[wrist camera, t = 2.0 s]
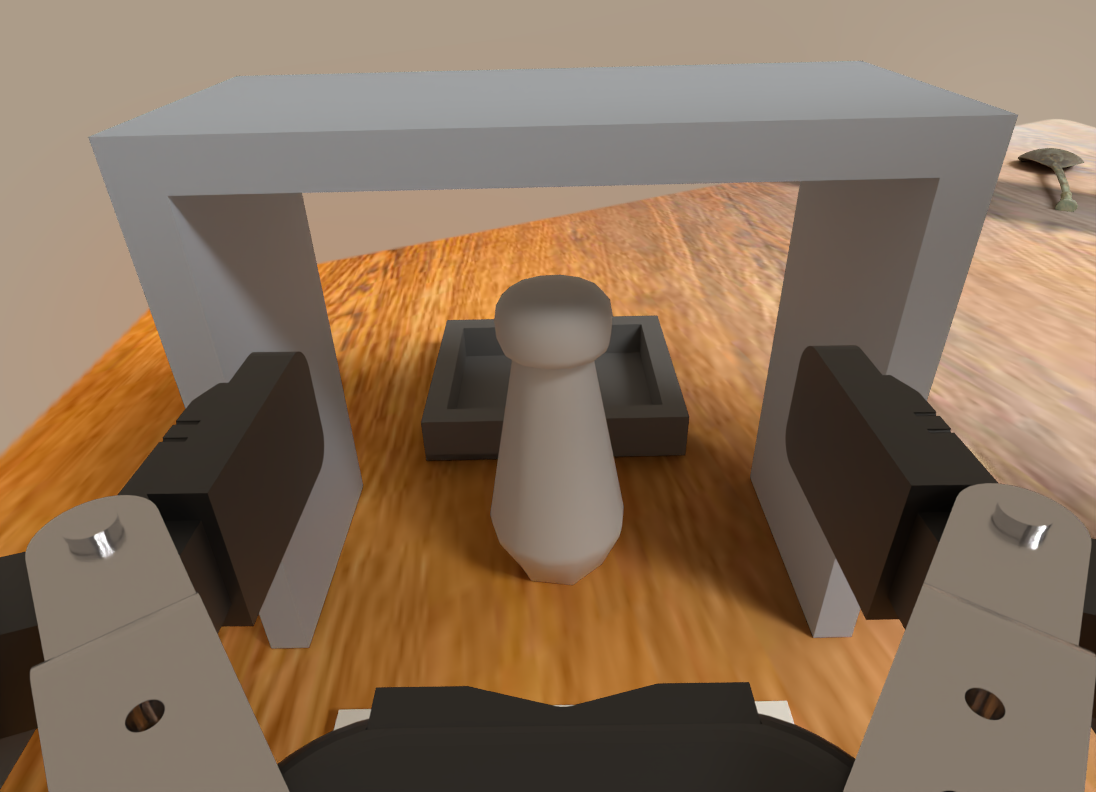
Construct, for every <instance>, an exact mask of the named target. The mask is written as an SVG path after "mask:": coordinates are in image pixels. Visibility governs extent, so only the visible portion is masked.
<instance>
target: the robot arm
mask: <svg viewBox="0 0 1096 792" xmlns="http://www.w3.org/2000/svg"><path fill="white" fill-rule="evenodd" d="M950 429H951V428H950V427H949V426H948V425H947V424H946V423H945V421H944V420H943V419H942V418H941V417H940V416H936V411H935V410H934V409H933V408H932V407H931V405H930V404H929V403H928V402H927V401H926V400H925V399H924V397H923V396H922V395H921V394H920V393H919V392H918V391H916V390H915V389H913V388H911V387H910V386H908V385H906V384H905V383H903V382H901V381H900V380H898V379H896V378H895V377H893V376H892V375H882V374H881V373H880V371H879V370H878V369H877V368H876V367H875V365H874V364H873V363H872V362H871V360H870V359H869V358H868V357H867V356H866V354H865V353H864V352H863V351H862V349H861V348H860V347H858V346H856V345H829V346H807V347H806V348H805V349H804V351H803V353H802V355H801V358H800V362H799V367H798V372H797V377H796V382H795V386H794V391H793V396H792V401H791V406H790V411H789V416H788V421H787V426H786V435H785V443H786V452H787V457H788V461H789V464H790V466H791V468H792V470H793V472H794V474H795V476H796V478H797V480H798V482H799V484H800V486H801V488H802V490H803V492H804V495H805V497H806V499H807V501H808V503H809V505H810V507H811V509H812V511H813V513H814V515H815V517H816V519H817V521H818V523H819V525H820V527H821V529H822V531H823V533H824V535H825V537H826V539H827V541H828V543H829V545H830V547H831V549H832V551H833V553H834V555H835V558H836V560H837V562H838V564H839V566H840V568H841V570H842V572H843V574H844V576H845V578H846V580H847V582H848V584H849V586H850V588H851V590H852V592H853V594H854V596H855V598H856V600H857V602H858V604H859V606H860V608H861V610H862V612H863V614H864V616H865V618H866V620H879V619H900V621H901V623H902V625H903V627H904V628H905V632H904V635H903V638H902V640H901V643H900V645H899V648H898V651H897V653H896V656H895V658H894V661H893V664H892V666H891V669H890V671H889V674H888V676H887V679H886V682H885V684H884V687H883V689H882V692H881V695H880V697H879V700H878V702H877V705H876V708H875V710H874V713H873V715H872V718H871V721H870V723H869V726H868V728H867V731H866V733H865V736H864V739H863V741H862V744H861V746H860V749H859V752H858V754H857V757H856V759H855V758H853V757H852V756H850V755H849V754H848V753H846V752H845V751H843V750H842V749H840V748H839V747H837V746H836V745H834V744H832V743H831V742H829V741H827V740H825V739H824V738H822V737H820V736H818V735H817V734H815V733H812V732H810V731H808V730H806V729H804V728H801V727H799V726H797V725H795V724H792V723H789V722H787V721H784V720H781V719H778V718H775V717H772V716H768V715H764V714H760V713H758V711H757V708H756V704H755V701H754V697H753V694H752V690H751V687H750V684H749V682H733V683H663V684H654V685H650V686H646V687H642V688H639V689H635V690H631V691H627V692H623V693H619V694H615V695H612V696H608V697H604V698H600V699H596V700H592V701H588V702H585V703H581V704H577V705H573V706H567V707H559V706H552V705H548V704H544V703H539V702H535V701H530V700H526V699H522V698H517V697H513V696H508V695H504V694H500V693H495V692H491V691H486V690H482V689H478V688H473V687H469V686H451V687H381V688H376V690H375V695H374V699H373V704H372V708H371V712H370V717H369V719H365V720H361V721H358V722H355V723H352V724H349V725H347V726H344V727H341V728H339V729H336V730H333V731H331V732H329V733H327V734H325V735H323V736H321V737H319V738H317V739H315V740H313V741H311V742H310V743H308V744H306V745H305V746H303V747H302V748H300V749H298V750H297V751H295V752H294V753H292V754H290V755H289V756H288V757H286V758H285V759H284V760H282V761H281V762H280V763H278V764H277V763H276V761H275V759H274V757H273V755H272V752H271V750H270V748H269V746H268V744H267V741H266V739H265V737H264V735H263V733H262V731H261V728H260V726H259V724H258V722H257V720H256V717H255V715H254V713H253V711H252V709H251V706H250V704H249V702H248V700H247V698H246V696H245V693H244V691H243V689H242V687H241V685H240V682H239V680H238V678H237V676H236V674H235V672H234V669H233V667H232V665H231V663H230V661H229V658H228V656H227V654H226V652H225V650H224V647H223V645H222V643H221V641H220V639H219V637H218V632H219V630H220V628H221V626H254V624H255V621H256V619H257V617H258V614H259V612H260V610H261V607H262V605H263V603H264V601H265V598H266V596H267V594H268V591H269V589H270V587H271V584H272V582H273V580H274V577H275V575H276V573H277V570H278V568H279V566H280V563H281V561H282V559H283V556H284V554H285V552H286V549H287V547H288V545H289V542H290V540H291V538H292V536H293V533H294V531H295V529H296V526H297V524H298V522H299V519H300V517H301V515H302V512H303V510H304V508H305V505H306V503H307V501H308V498H309V496H310V494H311V491H312V489H313V487H314V484H315V482H316V480H317V478H318V475H319V473H320V470H321V468H322V464H323V458H324V434H323V429H322V424H321V420H320V415H319V410H318V406H317V401H316V397H315V392H314V388H313V383H312V379H311V374H310V369H309V365H308V362H307V359H306V357H305V356H304V354H303V353H302V352H299V351H297V352H252V353H251V354H250V355H249V356H248V357H247V358H246V360H245V361H244V362H243V364H242V365H241V367H240V368H239V369H238V371H237V372H236V373H235V375H234V376H233V377H232V379H231V380H230V381H229V383H218V384H217V385H215V386H214V387H212V388H210V389H209V390H207V391H206V392H204V393H203V394H201V395H200V396H198V397H197V398H195V399H194V400H192V401H191V403H190V404H189V405H188V406H187V408H186V409H185V410H184V412H183V413H182V414H181V415H180V417H179V418H178V419H177V420H176V425H172V427H171V428H170V429H169V431H168V432H167V433H166V434H165V436H164V437H163V442H159V443H158V444H157V446H156V447H155V448H154V450H153V451H152V452H151V453H150V455H149V456H148V457H147V458H146V460H145V461H144V462H143V463H142V465H141V466H140V467H139V469H138V470H137V471H136V472H135V474H134V475H133V476H132V477H131V479H130V480H129V481H128V482H127V484H126V485H125V486H124V488H123V489H122V490H121V491H120V493H119V494H118V495H117V496H110V497H104V498H100V499H95V500H92V501H89V502H86V503H83V504H81V505H78V506H76V507H74V508H72V509H70V510H68V511H66V512H64V513H62V514H60V515H59V516H57V517H55V518H54V519H52V520H51V521H50V522H48V523H47V524H46V525H45V526H43V527H42V528H41V529H40V530H39V531H38V532H37V533H36V534H35V536H34V537H33V538H32V539H31V541H30V543H29V545H28V546H27V550H26V552H22V553H18V554H13V555H9V556H4V557H0V789H1V787H2V785H3V784H4V782H5V780H6V779H7V777H8V775H9V774H10V772H11V770H12V769H13V767H14V765H15V763H16V762H17V760H18V758H19V757H20V755H21V753H22V752H23V750H24V748H25V747H26V745H27V743H28V741H29V740H30V738H31V736H32V735H33V733H34V731H35V730H36V729H37V728H38V731H39V737H40V743H41V749H42V755H43V761H44V767H45V773H46V779H47V785H48V791H49V792H1084V790H1085V780H1086V770H1087V760H1088V750H1089V740H1090V730H1091V727H1092V729H1093V730H1094V732H1095V734H1096V539H1092V538H1091V537H1090V534H1089V532H1088V530H1087V529H1086V527H1085V525H1084V524H1083V523H1082V522H1081V521H1080V520H1079V519H1078V518H1077V517H1076V516H1075V515H1074V514H1073V513H1072V512H1070V511H1069V510H1068V509H1066V508H1065V507H1063V506H1062V505H1060V504H1059V503H1057V502H1055V501H1053V500H1052V499H1050V498H1047V497H1045V496H1043V495H1041V494H1039V493H1036V492H1033V491H1030V490H1027V489H1024V488H1020V487H1016V486H1012V485H1006V484H999V483H998V482H997V481H996V480H995V479H994V478H993V477H992V475H991V474H990V473H989V472H988V471H987V470H986V468H985V467H984V466H983V465H982V464H981V463H980V462H979V460H978V459H977V458H976V457H975V456H974V455H973V454H972V452H971V451H970V450H969V449H968V448H967V447H966V446H965V444H964V443H963V442H962V441H961V440H960V439H959V438H958V436H957V435H956V434H955V433H951V432H950Z"/></svg>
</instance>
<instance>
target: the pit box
mask: <svg viewBox="0 0 1096 792" xmlns="http://www.w3.org/2000/svg"><path fill="white" fill-rule="evenodd" d="M594 362H595V368H596V373H597V377H598V382H599V387H600V392H601V397H602V402H603V407H604V412H605V417H606V422H607V427H608V432H609V437H610V442H611V447H612V451H613V456H614V457H616V456H663V455H685V452H686V443H687V433H688V424H689V414H688V411H687V408H686V405H685V402H684V399H683V395H682V392H681V389H680V386H679V383H678V380H677V377H676V373H675V370H674V367H673V364H672V361H671V358H670V354H669V351H668V348H667V345H666V342H665V339H664V335H663V332H662V329H661V326H660V323H659V320H658V316H618V317H612V329H611V336H610V342H609V346H608V348H607V351H606V352H605V353H603V354H602V355H601V356H599V357H598V358H597V359H596V360H594ZM511 364H512V360H511V359H510V358H508V357H506V356H505V354H504V352H503V350H502V348H501V346H500V344H499V342H498V340H497V338H496V332H495V324H494V319H485V320H447V323H446V327H445V331H444V335H443V339H442V343H441V347H440V350H439V354H438V358H437V362H436V366H435V370H434V374H433V378H432V382H431V386H430V389H429V393H428V397H427V401H426V405H425V409H424V413H423V417H422V421H421V426H422V433H423V440H424V447H425V454H426V461H431V460H477V459H498V456H499V449H500V442H501V435H502V428H503V421H504V414H505V407H506V400H507V392H508V385H509V378H510V371H511Z"/></svg>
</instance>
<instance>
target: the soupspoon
mask: <svg viewBox="0 0 1096 792" xmlns="http://www.w3.org/2000/svg"><path fill="white" fill-rule="evenodd" d="M1018 159H1019V160H1020V161H1023V160H1033V161H1036V162H1039V163H1041V164H1043V165H1046V166H1048V167H1050V168H1052V169H1053V170H1054V172H1055V173H1056V175H1057V178H1058V180H1059V183H1060V186H1061V189H1062V192H1063V193H1062V194H1061V199H1060V200H1061V201H1060V202H1058V204H1057V205H1056V207H1055V209H1056V210H1060V211H1069V212H1074V211H1075V210H1076V209H1077V203H1076V202H1075V201H1074V200H1072V198H1071V196H1072V193H1071V192H1070V189H1069V185H1068V182H1067V179H1066V177H1065V174H1064V171H1063V169H1062V168H1064V167H1070V166H1074V165H1077V164H1081V163H1084V161H1083V160H1082V159H1081V158H1080V157H1078V156H1077V155H1075V154H1073V153H1071V152H1068V151H1065V150H1061V149H1054V148H1045V149H1038V150H1033V151H1030V152H1027V153H1025V154H1023V155H1021V156H1019V157H1018Z"/></svg>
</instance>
